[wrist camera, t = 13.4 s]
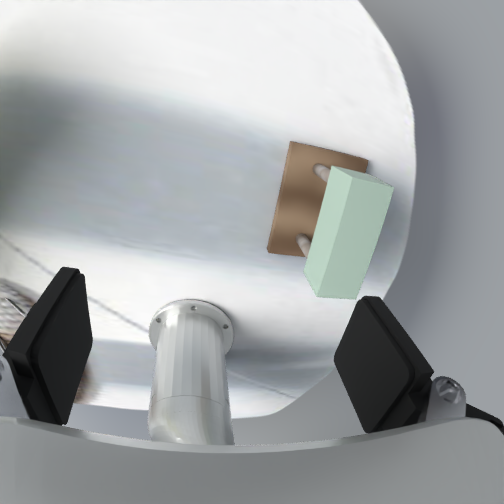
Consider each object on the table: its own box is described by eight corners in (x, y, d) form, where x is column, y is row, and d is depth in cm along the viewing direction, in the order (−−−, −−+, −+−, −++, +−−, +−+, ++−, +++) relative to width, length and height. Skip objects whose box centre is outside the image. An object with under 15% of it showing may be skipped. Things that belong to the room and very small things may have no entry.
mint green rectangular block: (369, 174, 31) (394, 187, 26) (339, 275, 36) (355, 299, 31) (331, 165, 30) (352, 177, 25) (303, 271, 35) (316, 297, 30)
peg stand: (336, 256, 43) (357, 283, 37) (266, 248, 41) (278, 277, 35) (364, 158, 37) (393, 171, 31) (290, 141, 35) (308, 150, 29)
